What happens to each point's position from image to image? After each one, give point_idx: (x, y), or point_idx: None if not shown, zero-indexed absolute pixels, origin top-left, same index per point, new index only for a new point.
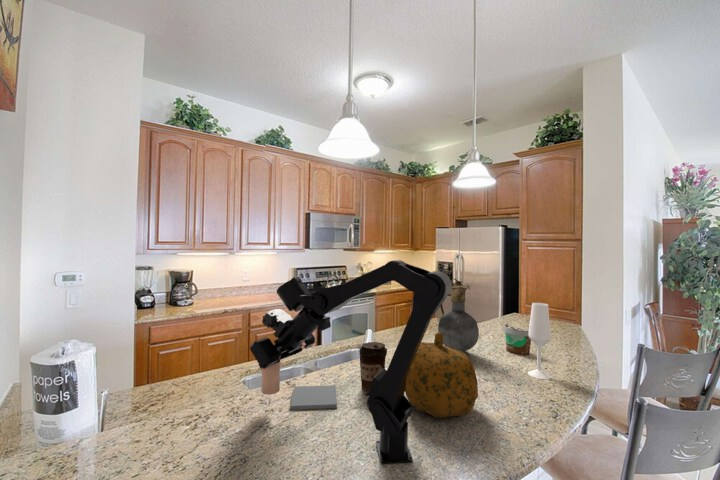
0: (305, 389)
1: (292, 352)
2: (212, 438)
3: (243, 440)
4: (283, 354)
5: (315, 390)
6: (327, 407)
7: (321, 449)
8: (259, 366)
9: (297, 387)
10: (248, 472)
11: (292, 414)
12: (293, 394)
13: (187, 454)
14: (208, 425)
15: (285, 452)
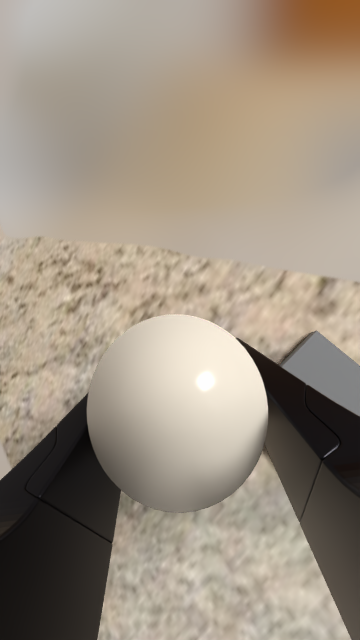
0: (332, 372)
1: (338, 594)
2: (68, 366)
3: None
4: (273, 444)
5: (355, 403)
6: None
7: (171, 632)
8: None
9: (320, 343)
10: None
11: None
12: (284, 367)
13: (22, 376)
14: (89, 320)
15: (114, 547)
